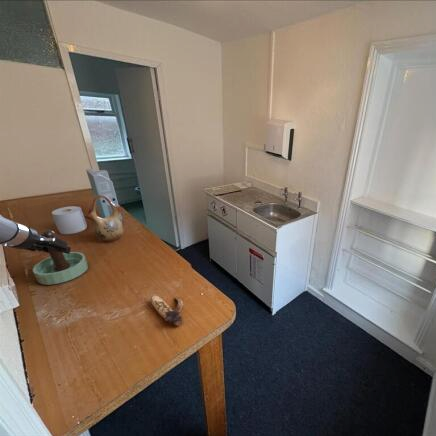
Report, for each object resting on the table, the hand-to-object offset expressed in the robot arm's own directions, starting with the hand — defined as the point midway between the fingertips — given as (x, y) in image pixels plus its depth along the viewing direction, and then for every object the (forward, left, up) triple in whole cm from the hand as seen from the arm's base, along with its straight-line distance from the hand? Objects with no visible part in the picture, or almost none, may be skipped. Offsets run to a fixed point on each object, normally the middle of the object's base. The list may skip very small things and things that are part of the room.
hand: (62, 251), depth 97 cm
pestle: (0, -4, -6) cm, 7 cm away
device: (-2, +50, -9) cm, 51 cm away
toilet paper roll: (-16, +38, -9) cm, 42 cm away
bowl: (0, -4, -9) cm, 9 cm away
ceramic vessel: (+8, +23, -9) cm, 26 cm away
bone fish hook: (+46, -34, -9) cm, 58 cm away
